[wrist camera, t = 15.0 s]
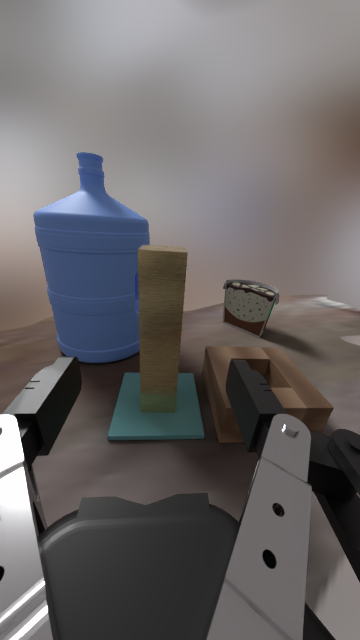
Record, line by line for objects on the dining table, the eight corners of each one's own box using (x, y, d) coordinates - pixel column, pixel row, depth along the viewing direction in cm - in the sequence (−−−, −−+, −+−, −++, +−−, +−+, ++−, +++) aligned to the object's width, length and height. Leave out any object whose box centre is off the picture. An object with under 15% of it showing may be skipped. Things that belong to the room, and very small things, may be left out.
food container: (278, 332, 47) (291, 289, 43) (266, 340, 43) (279, 294, 39) (231, 314, 55) (238, 276, 51) (217, 320, 51) (224, 279, 47)
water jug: (73, 379, 29) (23, 116, 18) (51, 333, 40) (11, 152, 28) (165, 347, 38) (173, 160, 27) (127, 316, 49) (120, 174, 38)
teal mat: (192, 376, 31) (193, 373, 31) (203, 438, 22) (204, 434, 22) (124, 375, 31) (124, 372, 30) (107, 440, 22) (107, 436, 21)
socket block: (271, 375, 33) (279, 348, 31) (316, 441, 23) (333, 407, 21) (202, 374, 32) (205, 346, 30) (218, 442, 22) (226, 408, 20)
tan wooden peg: (174, 388, 28) (184, 247, 21) (175, 412, 24) (187, 252, 17) (144, 387, 28) (143, 244, 20) (140, 412, 24) (137, 249, 17)
